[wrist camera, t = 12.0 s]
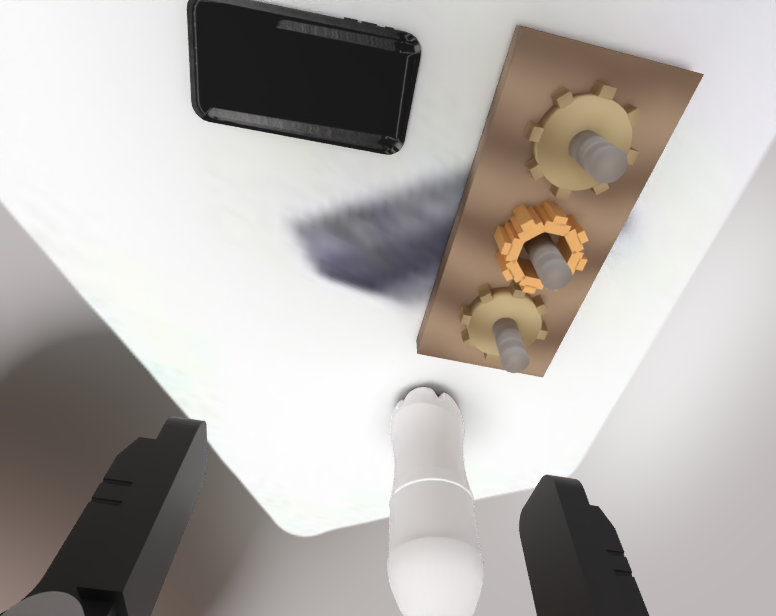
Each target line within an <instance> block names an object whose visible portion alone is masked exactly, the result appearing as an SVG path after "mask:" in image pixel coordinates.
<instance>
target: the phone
mask: <svg viewBox="0 0 776 616" xmlns="http://www.w3.org/2000/svg"><path fill="white" fill-rule="evenodd" d="M357 21H358V20H354V19H349V18H345V17H344V19H340V18H335V17H330V16H325V15H320V14H316V13H311V12H306V11H301V10H296V9H291V8H286V7H282V6H277V5H272V4H267V3H262V2H257V1H252V0H189V1H188V3H187V22H188V42H189V62H190V83H191V102H192V107H193V109H194V111H195V113H196V114H197V115H198V116H199V117H200V118H202V119H203V120H205V121H208V122H213V123H218V124H224V125H229V126H235V127H240V128H245V129H251V130H256V131H262V132H267V133H272V134H278V135H283V136H289V137H294V138H299V139H305V140H310V141H316V142H321V143H326V144H332V145H337V146H343V147H348V148H353V149H359V150H364V151H370V152H375V153H380V154H386V155H391V154H394V153H396V152H398V151H399V150H400V149H401V148H402V146H403V144H404V141H405V136H406V130H407V125H408V120H409V115H410V109H411V104H412V99H413V93H414V88H415V83H416V78H417V72H418V67H419V62H420V56H421V49H420V45H419V43H418V41H417V39H416V38H415V37H414V36H413V35H412V34H410V33H407V32H403V31H398V30H394V28H390V27H385V28H384V27H379V26H377V24H372V23H367V22H362V23H359V22H357Z"/></svg>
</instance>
